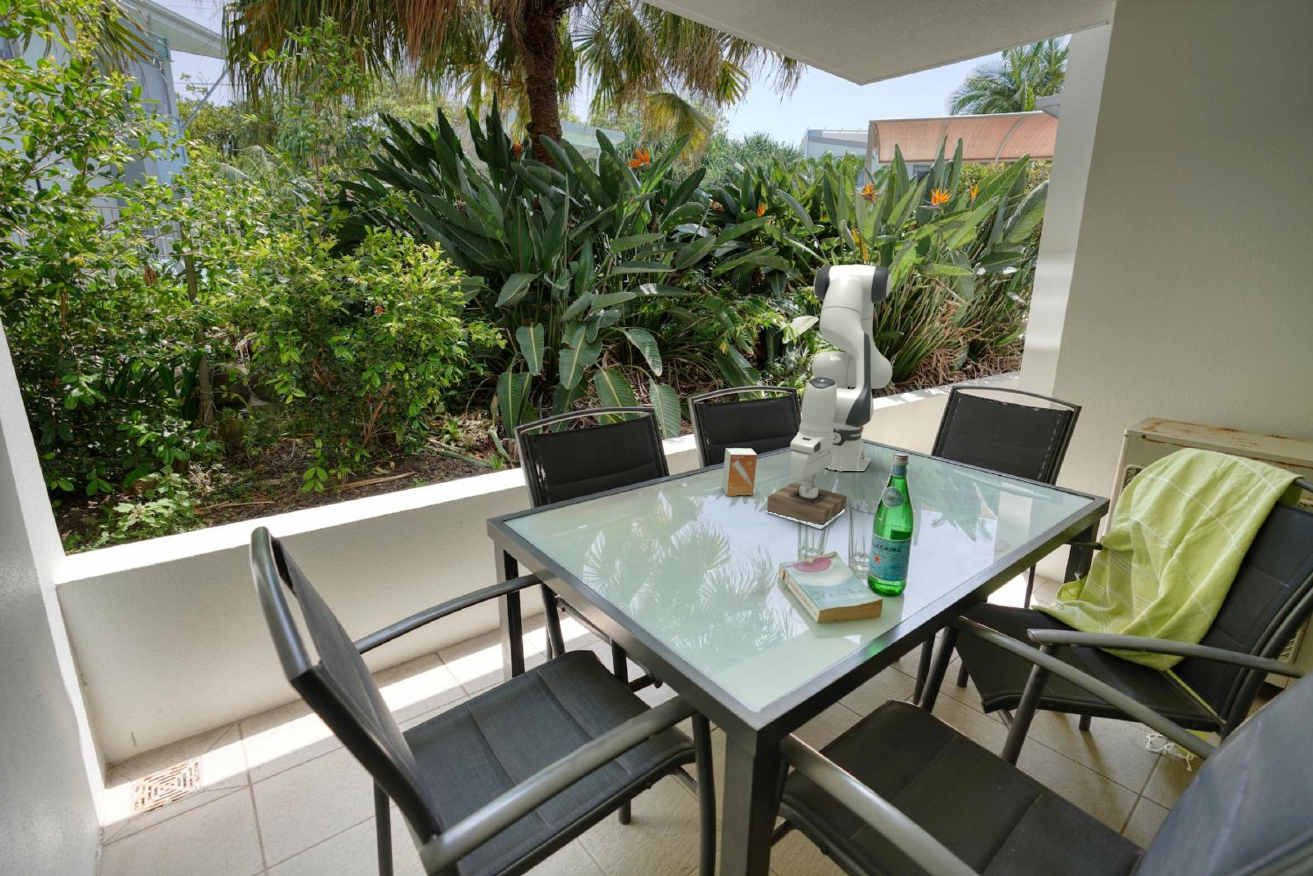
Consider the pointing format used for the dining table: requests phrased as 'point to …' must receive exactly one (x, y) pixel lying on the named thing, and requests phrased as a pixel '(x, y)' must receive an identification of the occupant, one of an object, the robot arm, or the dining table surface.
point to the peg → (808, 493)
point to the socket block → (806, 504)
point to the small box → (739, 471)
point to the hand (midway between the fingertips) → (809, 487)
